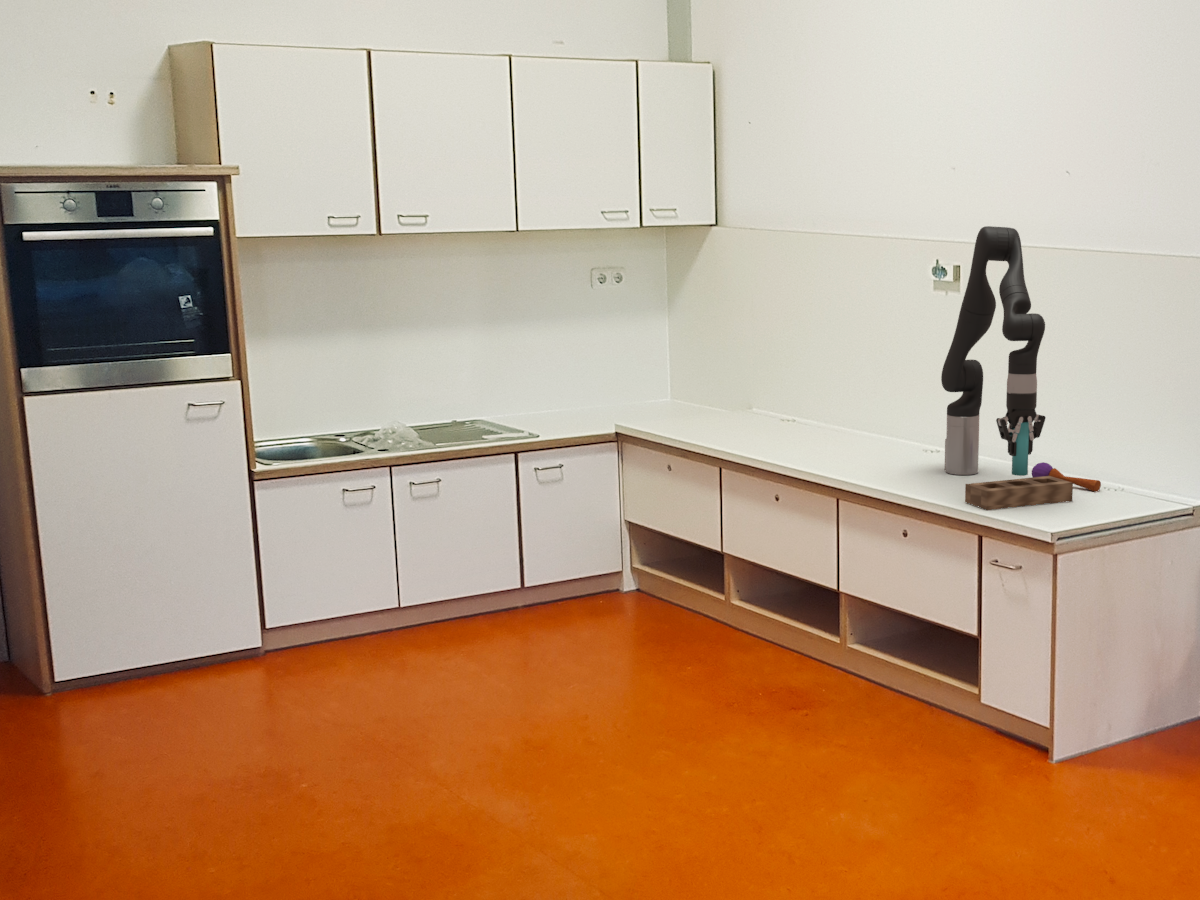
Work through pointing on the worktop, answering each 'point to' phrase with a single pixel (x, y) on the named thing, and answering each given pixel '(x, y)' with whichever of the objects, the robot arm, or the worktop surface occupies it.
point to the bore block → (1018, 492)
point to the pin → (1021, 451)
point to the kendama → (1047, 470)
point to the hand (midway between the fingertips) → (1019, 454)
